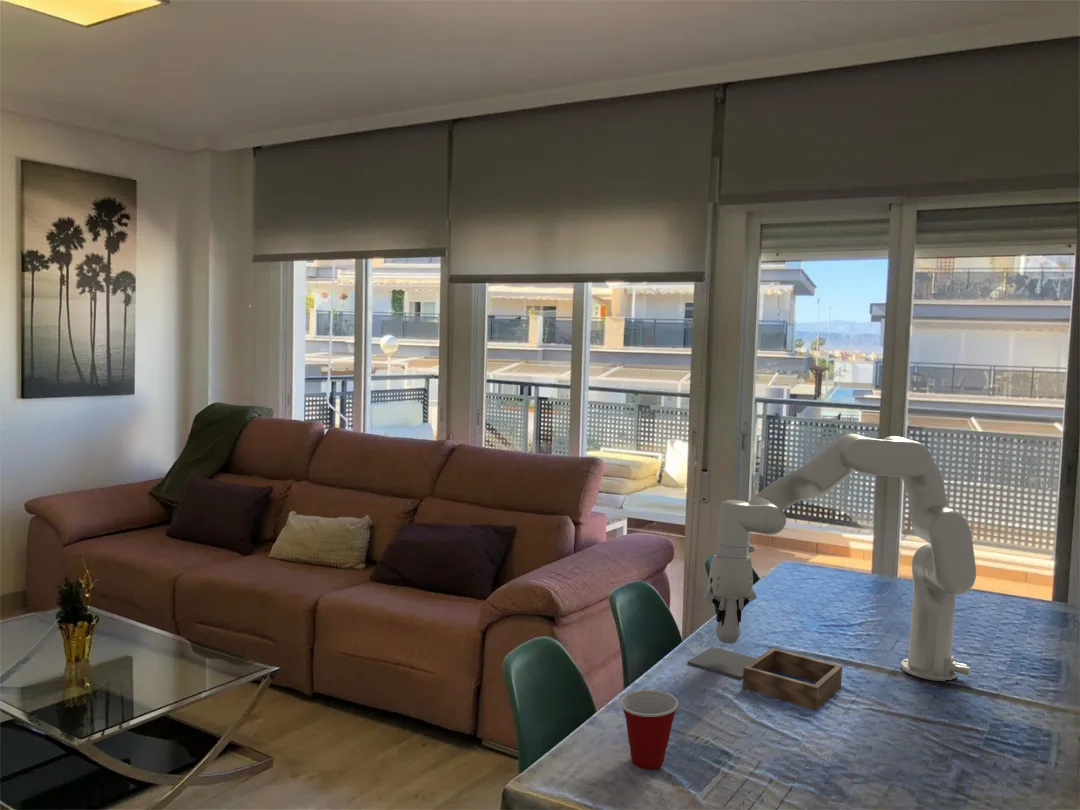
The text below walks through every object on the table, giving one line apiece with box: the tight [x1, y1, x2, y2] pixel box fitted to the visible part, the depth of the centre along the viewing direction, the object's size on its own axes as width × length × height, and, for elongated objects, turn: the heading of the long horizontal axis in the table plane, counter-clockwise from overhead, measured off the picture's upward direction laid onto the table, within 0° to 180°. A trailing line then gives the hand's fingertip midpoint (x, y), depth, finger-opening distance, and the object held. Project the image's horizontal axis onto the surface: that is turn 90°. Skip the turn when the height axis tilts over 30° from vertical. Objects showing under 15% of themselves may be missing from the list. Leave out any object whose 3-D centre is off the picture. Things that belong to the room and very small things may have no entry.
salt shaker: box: [715, 595, 741, 645], centre depth 209 cm, size 6×6×13 cm
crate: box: [741, 647, 843, 711], centre depth 197 cm, size 17×17×5 cm
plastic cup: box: [619, 689, 679, 771], centre depth 158 cm, size 11×11×12 cm
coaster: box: [687, 646, 758, 680], centre depth 210 cm, size 14×14×1 cm
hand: (728, 623), depth 210 cm, fingers closed on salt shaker, 3 cm apart
